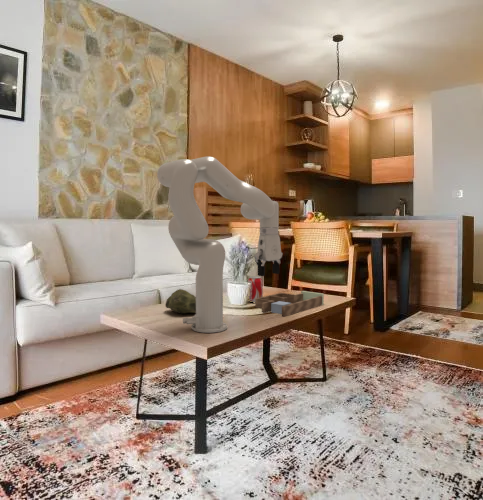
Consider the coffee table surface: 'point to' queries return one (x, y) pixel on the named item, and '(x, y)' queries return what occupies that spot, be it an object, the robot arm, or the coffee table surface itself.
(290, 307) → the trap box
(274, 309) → the block
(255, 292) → the soda can
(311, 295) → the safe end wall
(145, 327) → the coffee table surface
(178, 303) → the decorative rock
